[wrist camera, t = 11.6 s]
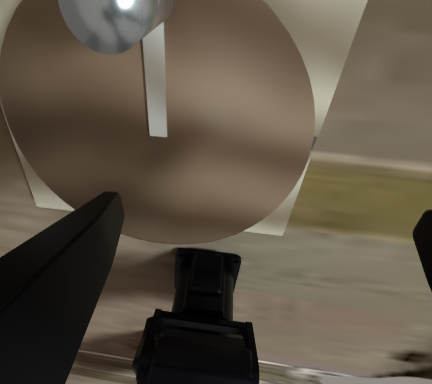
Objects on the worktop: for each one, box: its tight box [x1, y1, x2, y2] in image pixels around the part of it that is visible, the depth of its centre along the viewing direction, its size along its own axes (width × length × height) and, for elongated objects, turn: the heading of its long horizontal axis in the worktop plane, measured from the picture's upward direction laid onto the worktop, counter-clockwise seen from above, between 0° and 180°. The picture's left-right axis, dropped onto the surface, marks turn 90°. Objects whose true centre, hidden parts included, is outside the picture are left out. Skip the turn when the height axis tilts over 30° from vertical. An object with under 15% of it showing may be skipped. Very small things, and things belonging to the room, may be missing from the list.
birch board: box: [0, 0, 367, 236], centre depth 19 cm, size 20×21×2 cm
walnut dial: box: [0, 0, 315, 244], centre depth 16 cm, size 18×18×8 cm
